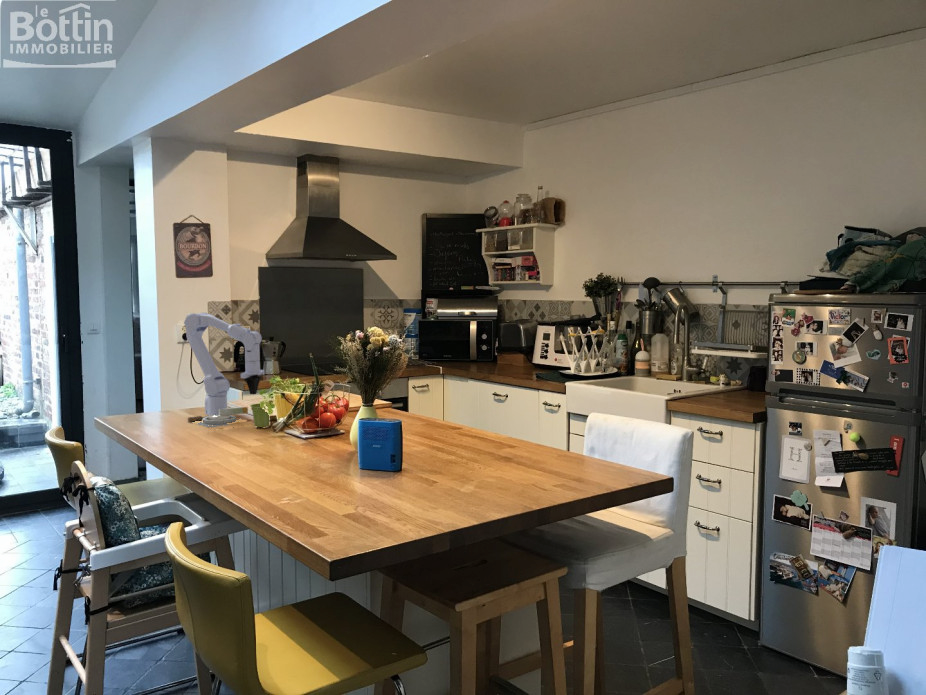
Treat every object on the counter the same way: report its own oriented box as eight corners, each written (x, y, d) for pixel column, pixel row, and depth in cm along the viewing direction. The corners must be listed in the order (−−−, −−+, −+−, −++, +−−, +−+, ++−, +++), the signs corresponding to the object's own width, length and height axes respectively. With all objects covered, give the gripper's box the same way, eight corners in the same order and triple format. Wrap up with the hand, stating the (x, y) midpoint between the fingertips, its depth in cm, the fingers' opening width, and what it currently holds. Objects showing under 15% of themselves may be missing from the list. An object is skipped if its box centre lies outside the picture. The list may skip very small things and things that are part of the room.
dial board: (186, 423, 292) (186, 418, 292) (228, 417, 305) (227, 412, 305) (210, 429, 280) (209, 423, 280) (252, 423, 293) (252, 417, 293)
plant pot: (269, 424, 291) (268, 402, 290) (280, 427, 284) (279, 405, 283) (246, 427, 285) (246, 404, 284) (257, 430, 278) (256, 407, 277)
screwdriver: (190, 422, 290) (189, 417, 290) (187, 422, 291) (187, 417, 291) (218, 418, 299) (218, 413, 299) (215, 418, 300) (215, 413, 300)
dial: (211, 423, 287) (211, 411, 287) (206, 420, 294) (206, 408, 294) (250, 419, 295) (249, 408, 295) (244, 416, 302) (244, 405, 301)
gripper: (251, 362, 295) (252, 396, 296) (270, 359, 309) (271, 392, 310) (235, 362, 297) (236, 396, 298) (255, 359, 311) (256, 391, 312)
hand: (253, 394), depth 304 cm, fingers closed
